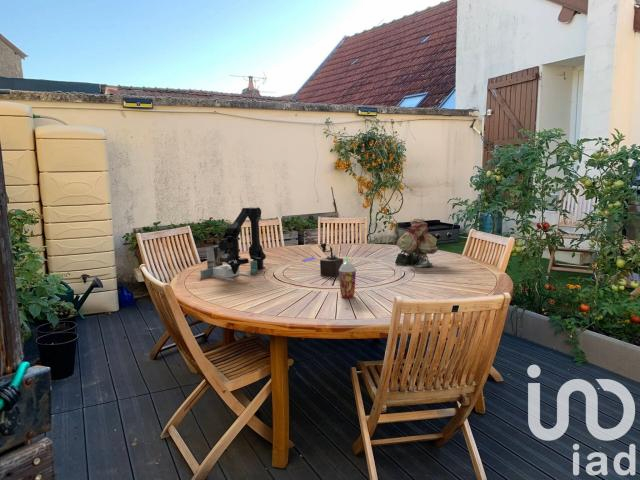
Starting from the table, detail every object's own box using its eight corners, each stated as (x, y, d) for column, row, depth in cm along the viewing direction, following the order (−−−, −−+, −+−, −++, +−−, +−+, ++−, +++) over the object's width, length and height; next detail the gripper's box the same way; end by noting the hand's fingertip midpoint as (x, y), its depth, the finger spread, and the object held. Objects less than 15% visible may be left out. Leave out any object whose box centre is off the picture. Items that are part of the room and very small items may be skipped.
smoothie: (338, 294, 219) (337, 255, 216) (354, 294, 220) (354, 254, 217) (340, 299, 211) (339, 258, 208) (357, 298, 212) (357, 258, 209)
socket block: (227, 272, 272) (226, 264, 271) (239, 274, 265) (239, 266, 265) (213, 276, 263) (212, 268, 262) (225, 278, 257) (225, 270, 256)
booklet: (330, 265, 290) (330, 264, 290) (301, 261, 305) (301, 260, 305) (341, 262, 300) (341, 261, 300) (312, 258, 315) (312, 257, 315)
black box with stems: (344, 273, 265) (344, 244, 262) (334, 277, 256) (334, 246, 253) (323, 270, 273) (322, 242, 271) (312, 274, 264) (312, 244, 262)
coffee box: (216, 273, 272) (215, 247, 269) (207, 272, 274) (205, 247, 271) (223, 269, 281) (222, 245, 278) (214, 269, 282) (213, 244, 280)
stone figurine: (393, 267, 279) (393, 220, 274) (402, 258, 306) (402, 216, 301) (434, 270, 269) (435, 221, 265) (440, 261, 296) (441, 216, 291)
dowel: (254, 273, 270) (253, 260, 269) (258, 273, 267) (258, 261, 266) (249, 274, 267) (248, 261, 265) (254, 275, 264) (253, 262, 263)
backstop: (233, 270, 279) (233, 262, 278) (257, 274, 267) (257, 266, 266) (200, 278, 258) (200, 270, 258) (225, 283, 246) (224, 274, 245)
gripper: (212, 248, 256) (213, 274, 259) (234, 251, 245) (235, 278, 248) (226, 246, 265) (228, 271, 267) (248, 248, 254) (249, 274, 257)
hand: (234, 274), depth 260 cm, fingers closed
